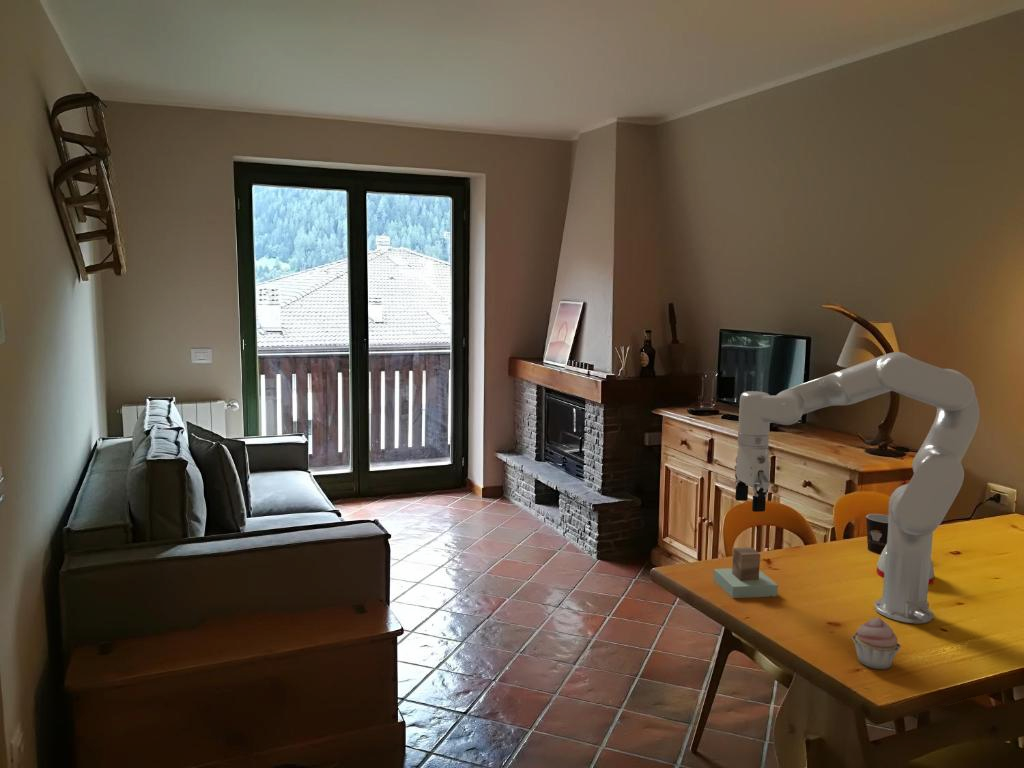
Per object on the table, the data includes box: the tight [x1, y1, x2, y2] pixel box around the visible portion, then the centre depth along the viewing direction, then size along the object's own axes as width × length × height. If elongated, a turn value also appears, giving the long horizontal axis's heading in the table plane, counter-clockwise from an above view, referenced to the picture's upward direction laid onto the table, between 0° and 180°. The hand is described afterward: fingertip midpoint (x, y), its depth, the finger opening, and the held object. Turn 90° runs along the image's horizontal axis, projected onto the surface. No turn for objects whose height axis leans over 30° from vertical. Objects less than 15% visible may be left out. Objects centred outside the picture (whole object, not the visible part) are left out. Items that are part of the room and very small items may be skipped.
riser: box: [712, 567, 779, 599], centre depth 196 cm, size 12×12×3 cm
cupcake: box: [850, 617, 902, 670], centre depth 157 cm, size 9×9×10 cm
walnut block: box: [731, 546, 761, 581], centre depth 195 cm, size 5×5×7 cm
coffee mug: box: [865, 513, 889, 555], centre depth 224 cm, size 12×9×10 cm
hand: (749, 505), depth 193 cm, fingers open, 9 cm apart
